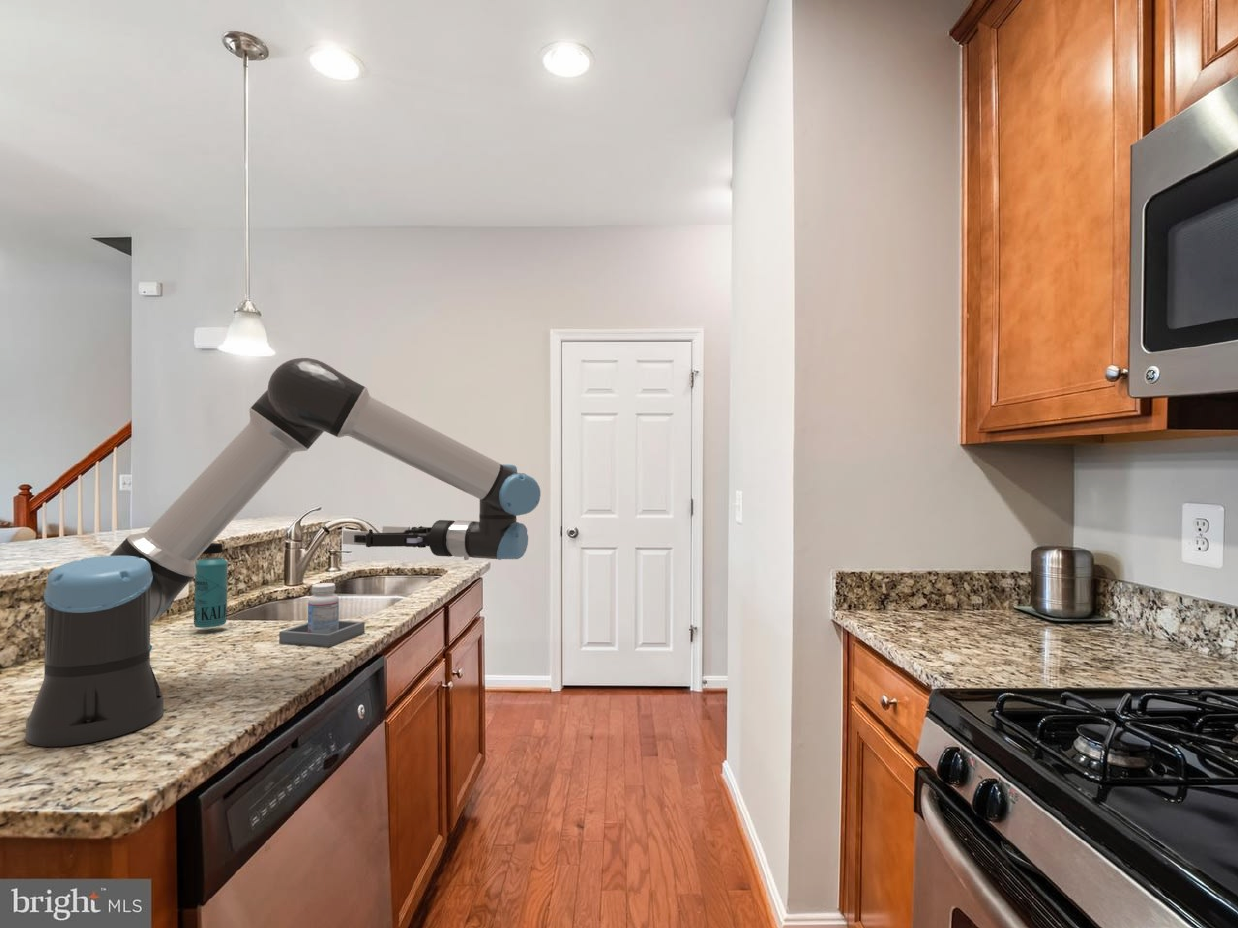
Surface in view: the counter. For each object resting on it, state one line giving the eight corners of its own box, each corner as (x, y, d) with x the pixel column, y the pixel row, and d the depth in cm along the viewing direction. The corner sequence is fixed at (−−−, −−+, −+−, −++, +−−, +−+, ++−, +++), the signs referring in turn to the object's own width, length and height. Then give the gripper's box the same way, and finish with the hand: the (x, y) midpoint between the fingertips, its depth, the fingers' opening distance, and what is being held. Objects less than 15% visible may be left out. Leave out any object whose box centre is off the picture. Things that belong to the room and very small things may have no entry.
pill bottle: (311, 633, 138) (312, 582, 138) (341, 631, 140) (341, 581, 140) (304, 640, 132) (304, 587, 132) (335, 638, 134) (335, 586, 134)
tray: (328, 647, 129) (328, 635, 129) (279, 643, 132) (279, 631, 132) (364, 633, 141) (364, 622, 141) (318, 629, 143) (318, 618, 143)
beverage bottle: (202, 627, 145) (204, 541, 145) (233, 627, 145) (234, 541, 146) (186, 635, 138) (188, 545, 138) (218, 634, 139) (219, 544, 139)
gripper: (421, 564, 117) (324, 559, 122) (480, 550, 142) (397, 545, 146) (422, 524, 117) (325, 520, 122) (481, 517, 142) (398, 514, 147)
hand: (364, 534), depth 134 cm, fingers open, 13 cm apart
